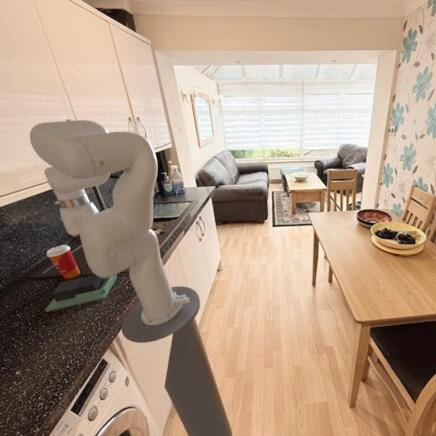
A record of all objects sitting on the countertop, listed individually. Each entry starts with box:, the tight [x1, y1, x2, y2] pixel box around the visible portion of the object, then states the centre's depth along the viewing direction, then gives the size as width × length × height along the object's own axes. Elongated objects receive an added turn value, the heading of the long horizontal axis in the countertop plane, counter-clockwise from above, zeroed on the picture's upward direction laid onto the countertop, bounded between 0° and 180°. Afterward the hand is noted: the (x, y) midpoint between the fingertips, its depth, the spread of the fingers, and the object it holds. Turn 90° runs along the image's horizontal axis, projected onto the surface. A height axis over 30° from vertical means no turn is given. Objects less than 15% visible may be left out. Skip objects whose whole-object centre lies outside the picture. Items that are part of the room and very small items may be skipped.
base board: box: [44, 274, 118, 313], centre depth 95 cm, size 19×14×5 cm
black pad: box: [74, 275, 104, 295], centre depth 95 cm, size 6×6×4 cm
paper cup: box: [46, 244, 81, 280], centre depth 104 cm, size 8×8×14 cm
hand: (96, 246), depth 90 cm, fingers closed
